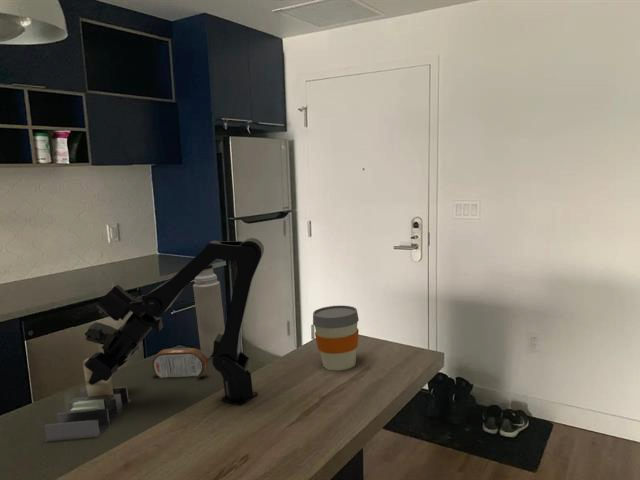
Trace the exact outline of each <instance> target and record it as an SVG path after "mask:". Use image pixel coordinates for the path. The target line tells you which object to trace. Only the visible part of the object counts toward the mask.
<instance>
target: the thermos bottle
mask: <svg viewBox="0 0 640 480" xmlns="http://www.w3.org/2000/svg"><path fill="white" fill-rule="evenodd" d="M213 268H214V267H213V264H210V265H208V266H207V267H206V268H205V269H204V270H203V271H202V272H201V273H200V274H199V275H198V276H196V277H195V278H194V283H193V285H192V288H193V296H194V305H195V314H196V321H197V322H196V323H197V329H198V339H199V346H200V351H201V352H203V353H204V355H205V356H206V358H207V359H211V358H210V356H211V354H212V353H213V346H214V341H215V339H216V337H217V335H218V334H221V335H223V334H224V331H225V326H226V324H225V318H224V310H223V309H224V308H223V300H222V291H221V283H220V280H218V277H217V274H215V273H214V269H213Z"/></svg>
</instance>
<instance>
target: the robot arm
mask: <svg viewBox="0 0 640 480" xmlns="http://www.w3.org/2000/svg"><path fill="white" fill-rule="evenodd" d="M264 252H265V247H264V244H263V243H262V241H260V240H259V239H258V238H255V237H250V238H249V237H248V238H247V239H245V240H243V241H241V240H239V241H237V240H235V241H234V240H232V241H229V240H227V241H224V240H223V241H220V240H212V241H210V242H208V243H207V244H206V245H205V247H204V248H203V249H202V250H200V252H199V253H198V254H197V255H195V257H193V258H192V259H191V260H190V261H189V262H188V263H187V264H186V265H185V266H183V267H182V269H180V270H179V271H178V272H177V273H176V274H175V275H174V276H172V278H170V279H169V280H167V281H165V282H163V283H162V284H160V285H159V286H157V287H156V288H154V289H152V290H151V291H150V292H149V293H148V294H147V293H146V294H142V295H139V296H137V297H135V298H134V296H132V295H131V294H129V292H128V291H126V290H124V288H123V287H122V286H120V284H116V285H114V286H113V288H111V290H110V291H108V292H107V293H106V294H105V295H104V296H102V297H101V299H100V300H99V301H98V302H97V304H96V307H97V308H98V309H99V310H101V311H102V312H103V313H105V315H106V316H108V317H109V318H111V319H112V320H113V321H115V322H119V321H120V320H121V321H124V320H125V319H126V318H127V317H128V316H129V317H128V318H127V320H126V321H125V322H124V323H123V324H122V325H121V326H120V327H119V328H118V329H117V328H115V327H114V326H110V325H107V324H105V323H102V322H94V323H92V324H91V325H89V326H88V329H87V331H86V332H84V336H85V340H86V341H88V342H92V343H95V344H98V345H101V349H102V351H103V352H102V351H101V352H100V351H99V352H95V353H94V354H93V355H91V356H90V357H88V358H89V359H88V361H87V362H86V363H85V367H87V368H88V369H89V370H91V371H92V372H93V373H92V375H91V377H90V380H89V384H91V385H93V384H95V383H97V382H99V381H101V380H104V381H108V380H109V379H110V378H111V379H112V377H113V376H114V374H115V373H117V371H118V370H119V369H118V368H120V367H122V366H124V365H125V364H126V362H128V358H131V357H133V355H135V354H136V352H137V351H138V350H139V347H140V346H139V345H140V344H141V343H142V342H143V340H144V339H145V337H146V336H147V335H148V333H149V332H150V331H152V329H153V330H154V331H156V332H160V331H161V330H162V329H163V328H164V324H163V317H160V316H162V315H164V313H165V312H167V311H168V309H170V308H171V306H172V305H173V303H174V302H175V301H176V300H177V299H178V297H179V296H180V295H181V292H182V291H183V290H184V289H185V288H186V286H188V285H190V283H191V282H193V280H195V277H196V276H198V275H199V274H200V273H201V272H202V271H203V270H204V269H205V268H206V267H207V266H208V265H212V263H213V262H214V261H215V260H223V261H230V262H235V267H236V268H235V270H236V272H235V273H236V278H235V283H234V286H233V290H232V295H231V296H232V297H231V300H230V305H229V310H228V314H227V318H226V321H225V322H226V323H225V331H224V334H223V335H221V334H218V335H217V337H216V339H215V341H214V346H213V353H212V354H211V356H210V358H209V359H212V360H211V361H212V363H211V364H212V367H214V369H215V370H216V371H217V372H219V373H220V375H221V377H222V378H223V380H222V382H223V390H224V391H223V392H224V396H222V397H221V398H220V400H221V401H222V400H224V401H223V402H226V401H228V402H227V403H229V402H231V403H230V404H233V403H235V405H237V404H238V406H241V405H242V404H244V403H246V402H248V401H250V400H251V399H253V398H254V396H255V397H256V396H257V394H258V392H257V391H254V390H253V382H252V373H251V372H250V371H249V370H248V367H249V365H250V361H251V358H250V357H249V356H248V355H246V354H245V353H244V352H242V351H241V349H242V348H241V347H242V346H241V344H242V336H241V331H242V327H243V322H244V318H245V314H246V310H247V305H248V301H249V296H250V291H251V287H252V283H253V279H254V277H255V274H256V271H257V269H258V267H259V265H260V262H261V260H262V258H263V255H264Z"/></svg>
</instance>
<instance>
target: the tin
mask: <svg viewBox="0 0 640 480" xmlns="http://www.w3.org/2000/svg"><path fill="white" fill-rule="evenodd" d="M208 362H209V361H208V358H206V356H205V355H204V353H203V352H201V349H198V348H194V347H188V348H187V347H185V348H183V347H182V348H165V349H162V350H160V351H158V352H157V354H156V355H155V356H154V357H153V359H152V364H151V367H152V368H151V369H152V371H153V372H154V374H155V376H156V377H157V378H160V379H163V378H178V377H179V378H182V377H183V378H185V377H196V379H199V378H200V377H201V376H202V375H203V374H204V373H205V372H207V369H208V364H209V363H208Z"/></svg>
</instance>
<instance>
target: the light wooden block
mask: <svg viewBox="0 0 640 480" xmlns="http://www.w3.org/2000/svg"><path fill="white" fill-rule="evenodd" d="M89 358H90V357H87V358H86V359H84V360H83V361H82V367H83V373H84V381H85V388H86V390H87V394H88V397H90V396H101V395H112V394H113V388H114V387H113V383H112V382H113V381H112V377H111V378H110V379H109V380H108V381H104V380H101V381H99V382H97V383H95V384H93V385H91V384H89V380H90V377H91V375H92V373H93V372H92V371H91V370H89V369H88V368H87V367H85V363H86V362H87V361H88V359H89Z"/></svg>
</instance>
